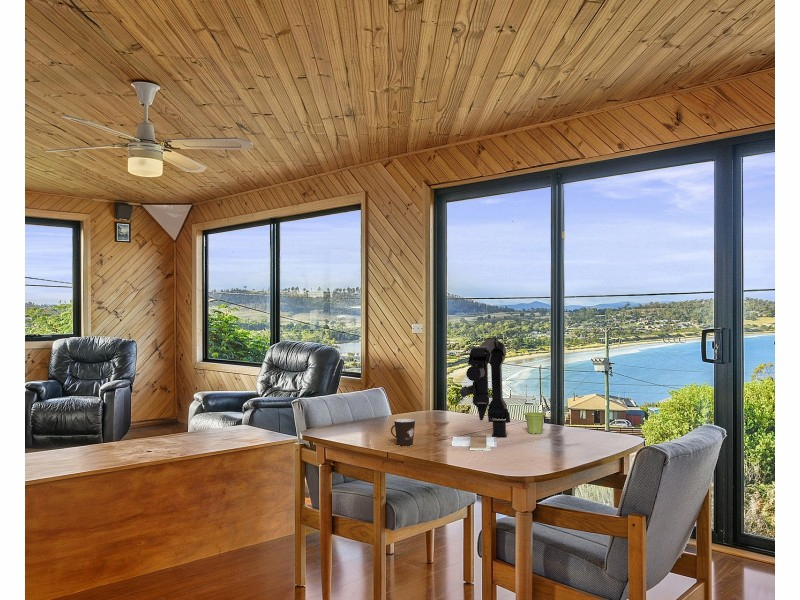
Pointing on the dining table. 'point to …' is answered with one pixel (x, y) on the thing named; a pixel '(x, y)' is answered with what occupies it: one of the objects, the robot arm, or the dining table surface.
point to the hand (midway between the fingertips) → (481, 418)
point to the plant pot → (534, 422)
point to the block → (478, 441)
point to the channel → (467, 442)
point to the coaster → (488, 448)
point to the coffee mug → (404, 431)
